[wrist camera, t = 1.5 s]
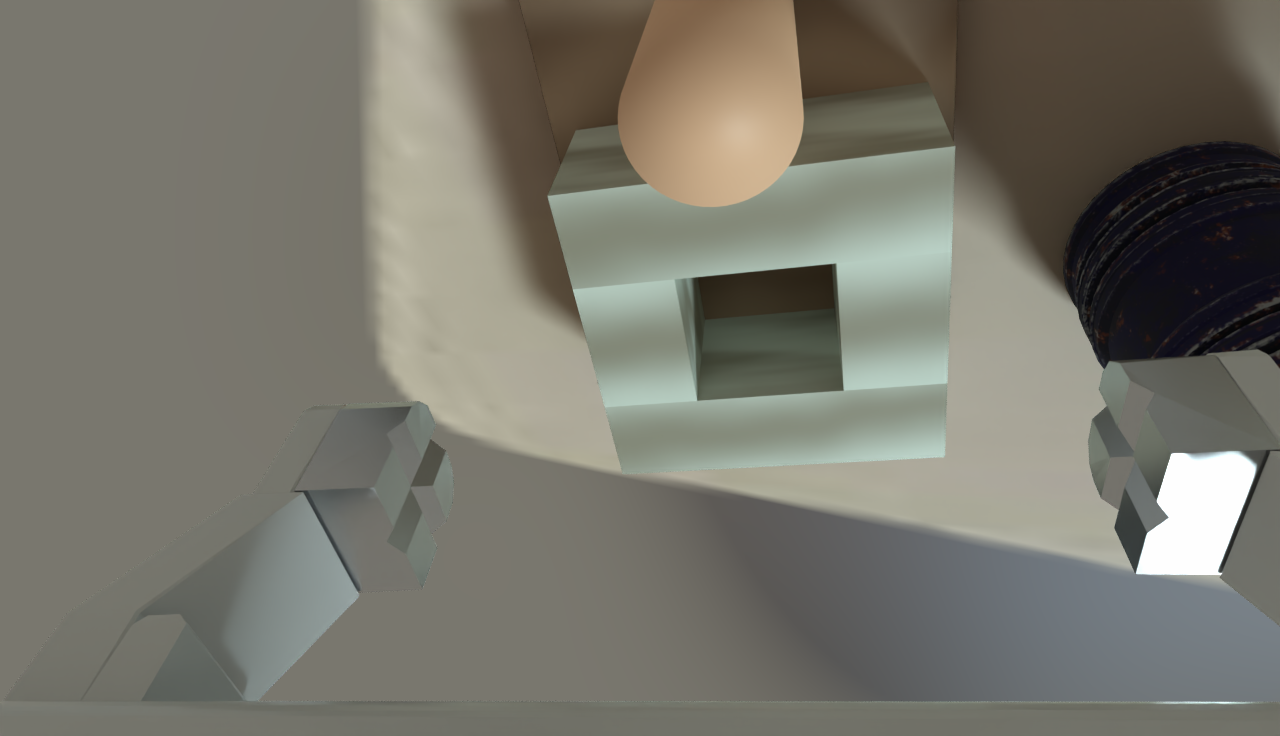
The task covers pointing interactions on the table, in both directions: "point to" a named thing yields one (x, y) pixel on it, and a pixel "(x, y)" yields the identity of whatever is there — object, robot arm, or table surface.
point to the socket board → (766, 249)
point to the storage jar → (1181, 256)
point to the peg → (713, 99)
